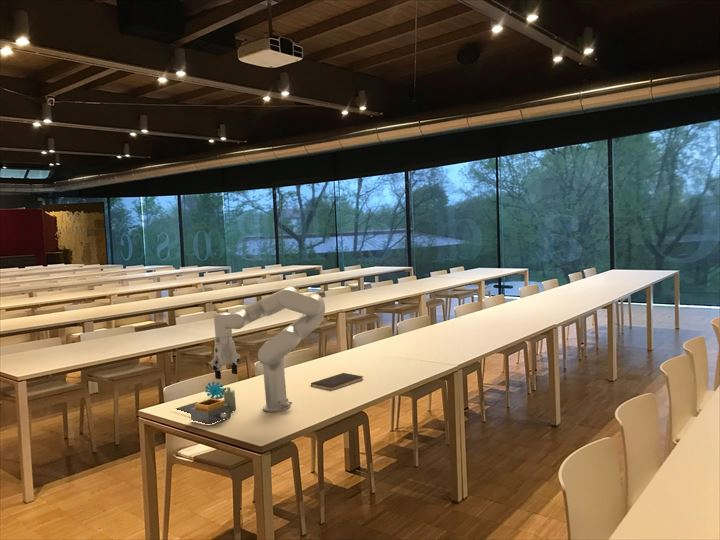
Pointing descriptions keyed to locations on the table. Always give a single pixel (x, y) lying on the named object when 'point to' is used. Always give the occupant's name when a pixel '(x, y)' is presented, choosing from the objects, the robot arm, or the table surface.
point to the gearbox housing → (210, 411)
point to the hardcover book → (337, 381)
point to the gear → (215, 390)
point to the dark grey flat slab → (187, 407)
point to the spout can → (230, 398)
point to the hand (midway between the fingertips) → (226, 376)
